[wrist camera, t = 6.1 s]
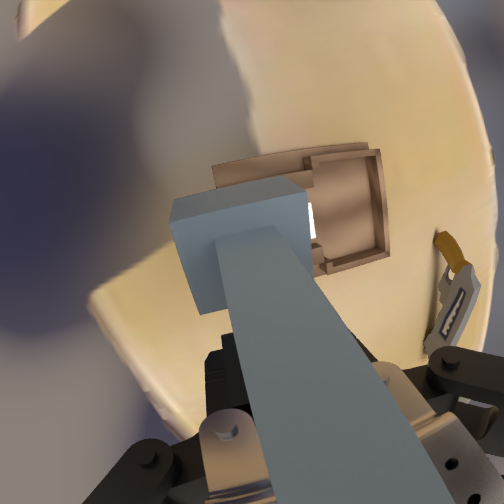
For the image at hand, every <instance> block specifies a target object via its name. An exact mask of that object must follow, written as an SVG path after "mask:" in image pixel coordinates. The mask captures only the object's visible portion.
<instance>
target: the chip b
mask: <svg viewBox="0 0 504 504" xmlns="http://www.w3.org/2000/svg"><path fill="white" fill-rule="evenodd" d="M308 208H309V219H310V232H311V239H313V238H316V234H315V227H314V220H313V213H312V207H311V203H310V202H308Z"/></svg>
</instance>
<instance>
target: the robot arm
mask: <svg viewBox="0 0 504 504" xmlns="http://www.w3.org/2000/svg"><path fill="white" fill-rule="evenodd" d="M349 331H350V330H349ZM351 334H352V335H353V337H354V338H355V340H356V341H357V343H358V344H359V346H360V347H361V349H362V350H363V352H364V353H365V355H366V356H367V358H368V359H369V361H370V362H371V364H372V365H373V367H374V368H375V370H376V371H377V373H378V374H379V376H380V377H381V379H382V380H383V382H384V384H385V385H386V387H387V388H388V390H389V391H390V393H391V395H392V396H393V398H394V399H395V401H396V402H397V404H398V406H399V407H400V409H401V410H402V412H403V414H404V415H405V417H406V418H407V420H408V422H409V423H410V425H411V427H412V428H413V430H414V432H415V433H416V435H417V437H418V438H419V440H420V442H421V443H422V445H423V447H424V448H425V450H426V452H427V453H428V455H429V457H430V459H431V460H432V462H433V464H434V466H435V467H436V469H437V471H438V473H439V474H440V476H441V478H442V480H443V482H444V483H445V485H446V487H447V489H448V491H449V493H450V494H451V496H452V498H453V500H454V502H455V504H504V475H500V474H499V472H498V471H497V469H496V468H495V467H494V465H493V464H492V462H491V461H490V460H489V458H488V457H487V456H486V454H485V453H487V454H491V455H495V456H500V457H504V357H500V356H495V355H491V354H486V353H482V352H477V351H473V350H469V349H465V348H460V347H456V346H444V347H441V348H438V349H436V350H435V351H434V352H433V353H432V354H431V355H430V357H429V361H428V364H427V365H423V366H419V367H415V368H411V369H405V370H401V369H400V368H399V367H398V366H397V365H395V364H393V363H390V362H383V361H378V360H377V359H376V358H375V357H374V356H373V355H372V354H371V353H370V351H369V350H368V349H367V348H366V347H365V346H364V345H363V344H362V343H361V342H360V341H359V340H358V339H356V336H355V335H354V334H353V333H352V332H351ZM221 339H222V347H223V349H221V350H216V351H212V352H210V353H209V355H208V357H207V358H206V360H205V362H204V363H205V382H206V383H205V391H206V412H207V417H206V418H205V419H204V420H203V422H202V423H201V425H200V428H199V432H198V433H197V434H196V435H194V436H193V437H191V438H189V439H187V440H185V441H182V442H180V443H177V444H174V445H172V446H169V445H168V444H167V443H165V442H164V441H161V440H158V439H144V440H141V441H139V442H136V443H135V444H133V445H132V446H131V447H130V448H129V449H128V450H127V451H126V452H125V453H124V455H123V456H122V457H121V458H120V460H119V461H118V462H117V463H116V464H115V466H114V467H113V468H112V469H111V470H110V472H109V473H108V474H107V475H106V476H105V478H104V479H103V480H102V481H101V482H100V483H99V485H98V486H97V487H96V488H95V489H94V490H93V492H92V493H91V494H90V495H89V496H88V498H87V499H86V500H85V501H84V502H83V503H82V504H277V500H276V497H275V494H274V490H273V487H272V484H271V480H270V477H269V473H268V470H267V466H266V463H265V459H264V455H263V452H262V448H261V444H260V441H259V437H258V433H257V429H256V426H255V422H254V418H253V414H252V410H251V406H250V402H249V398H248V394H247V390H246V386H245V382H244V377H243V373H242V369H241V365H240V360H239V356H238V352H237V347H236V343H235V338H234V334H233V332H232V333H228V334H224V335H221ZM460 397H463V398H467V399H471V400H474V401H478V402H482V403H486V404H490V405H494V406H493V407H491V408H482V407H478V406H474V405H471V404H467V403H464V402H460V401H458V400H459V398H460Z"/></svg>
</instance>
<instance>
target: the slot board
mask: <svg viewBox="0 0 504 504" xmlns="http://www.w3.org/2000/svg"><path fill="white" fill-rule="evenodd" d="M212 170H213V174H214V179H215V184H216V189H218V188H223V187H227V186H231V185H236V184H241V183H245V182H250V181H255V180H260V179H265V178H270V177H275V176H280V175H283V176H284V177H286V178H287V179H289V180H290V181H292V182H294V183H295V184H297V185H298V186H300V187H301V188H303V189H304V190H306V191H307V197H308V202H310V203H311V207H312V213H313V220H314V227H315V234H316V238H313V239H311V246H312V262H313V278H314V277H317V276H321V275H325V274H327V275H330V274H333V273H337V272H340V271H344V270H347V269H350V268H354V267H357V266H360V265H364V264H367V263H370V262H373V261H377V260H380V259H383V258H386V257H389V256H390V239H389V222H388V209H387V199H386V189H385V181H384V173H383V166H382V160H381V153H380V149H370V150H369V147H368V142H366V143H354V144H343V145H334V146H325V147H317V148H309V149H302V150H295V151H288V152H282V153H275V154H269V155H264V156H258V157H253V158H248V159H242V160H237V161H233V162H228V163H223V164H218V165H214V166H212Z"/></svg>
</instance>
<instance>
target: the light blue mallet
mask: <svg viewBox="0 0 504 504" xmlns="http://www.w3.org/2000/svg"><path fill="white" fill-rule="evenodd" d="M169 225H170V229H171V232H172V235H173V239H174V242H175V245H176V248H177V251H178V254H179V257H180V260H181V263H182V266H183V269H184V272H185V275H186V278H187V281H188V284H189V287H190V289H191V292H192V295H193V298H194V301H195V303H196V306H197V309H198V311H199V314H200V315H202V314H207V313H211V312H215V311H219V310H224V309H228V311H229V315H230V320H231V325H232V329H233V334H234V338H235V343H236V347H237V352H238V356H239V360H240V365H241V369H242V373H243V377H244V382H245V386H246V390H247V394H248V398H249V402H250V406H251V410H252V414H253V418H254V422H255V426H256V429H257V433H258V437H259V441H260V444H261V448H262V452H263V455H264V459H265V463H266V466H267V470H268V473H269V477H270V480H271V484H272V487H273V490H274V494H275V497H276V500H277V504H455V502H454V500H453V498H452V496H451V494H450V493H449V491H448V489H447V487H446V485H445V483H444V482H443V480H442V478H441V476H440V474H439V473H438V471H437V469H436V467H435V466H434V464H433V462H432V460H431V459H430V457H429V455H428V453H427V452H426V450H425V448H424V447H423V445H422V443H421V442H420V440H419V438H418V437H417V435H416V433H415V432H414V430H413V428H412V427H411V425H410V423H409V422H408V420H407V418H406V417H405V415H404V414H403V412H402V410H401V409H400V407H399V406H398V404H397V402H396V401H395V399H394V398H393V396H392V395H391V393H390V391H389V390H388V388H387V387H386V385H385V384H384V382H383V380H382V379H381V377H380V376H379V374H378V373H377V371H376V370H375V368H374V367H373V365H372V364H371V362H370V361H369V359H368V358H367V356H366V355H365V353H364V352H363V350H362V349H361V347H360V346H359V344H358V343H357V341H356V340H355V338H354V337H353V335H352V334H351V332H350V331H349V329H348V328H347V326H346V325H345V323H344V322H343V321H342V319H341V318H340V316H339V315H338V313H337V312H336V310H335V309H334V308H333V306H332V305H331V303H330V302H329V300H328V299H327V298H326V296H325V295H324V293H323V292H322V290H321V289H320V288H319V286H318V285H317V283H316V282H315V281H314V279H313V262H312V246H311V232H310V219H309V208H308V197H307V191H306V190H304V189H303V188H301V187H300V186H298V185H297V184H295V183H294V182H292V181H290V180H289V179H287V178H286V177H284V176H283V175H280V176H275V177H270V178H265V179H260V180H255V181H250V182H245V183H241V184H236V185H231V186H227V187H223V188H218V189H214V190H210V191H206V192H202V193H198V194H194V195H190V196H186V197H182V198H178V199H175V200H174V203H173V207H172V211H171V216H170V220H169Z"/></svg>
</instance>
